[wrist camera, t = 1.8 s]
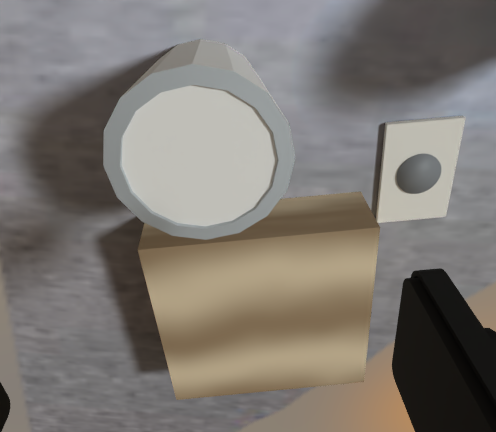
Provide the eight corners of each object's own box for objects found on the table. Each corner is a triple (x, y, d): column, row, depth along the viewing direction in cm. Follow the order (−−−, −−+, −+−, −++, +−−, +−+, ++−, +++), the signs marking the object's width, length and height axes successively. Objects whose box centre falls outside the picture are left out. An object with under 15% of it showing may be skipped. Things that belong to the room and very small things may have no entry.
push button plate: (385, 122, 23) (387, 125, 23) (462, 115, 23) (466, 118, 23) (375, 220, 26) (377, 223, 26) (443, 213, 26) (446, 217, 26)
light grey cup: (118, 138, 23) (83, 213, 17) (154, -1, 19) (126, 30, 13) (244, 179, 24) (253, 260, 18) (298, 57, 21) (329, 108, 15)
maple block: (148, 207, 25) (137, 249, 22) (358, 187, 25) (380, 227, 22) (181, 350, 32) (176, 399, 29) (348, 334, 32) (363, 381, 29)
